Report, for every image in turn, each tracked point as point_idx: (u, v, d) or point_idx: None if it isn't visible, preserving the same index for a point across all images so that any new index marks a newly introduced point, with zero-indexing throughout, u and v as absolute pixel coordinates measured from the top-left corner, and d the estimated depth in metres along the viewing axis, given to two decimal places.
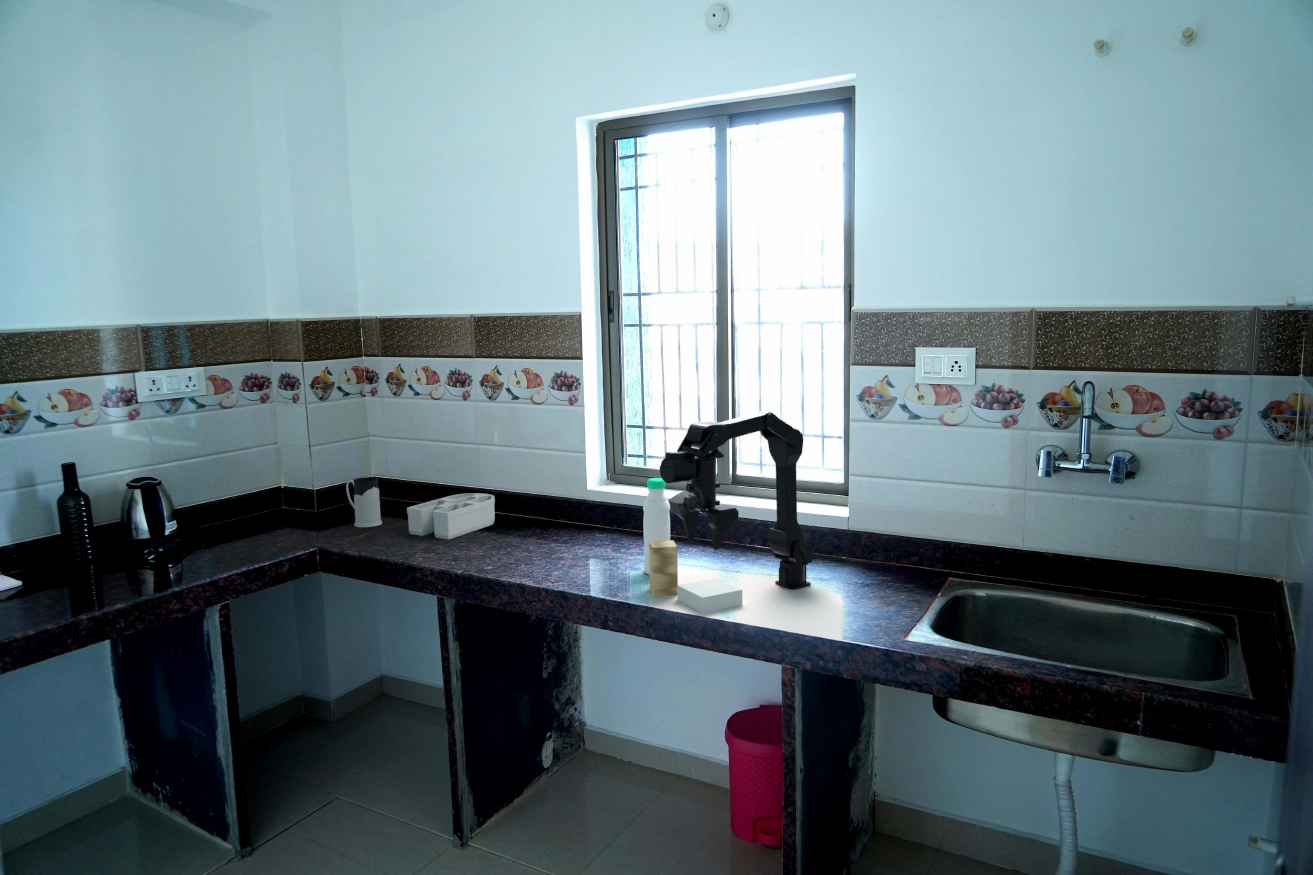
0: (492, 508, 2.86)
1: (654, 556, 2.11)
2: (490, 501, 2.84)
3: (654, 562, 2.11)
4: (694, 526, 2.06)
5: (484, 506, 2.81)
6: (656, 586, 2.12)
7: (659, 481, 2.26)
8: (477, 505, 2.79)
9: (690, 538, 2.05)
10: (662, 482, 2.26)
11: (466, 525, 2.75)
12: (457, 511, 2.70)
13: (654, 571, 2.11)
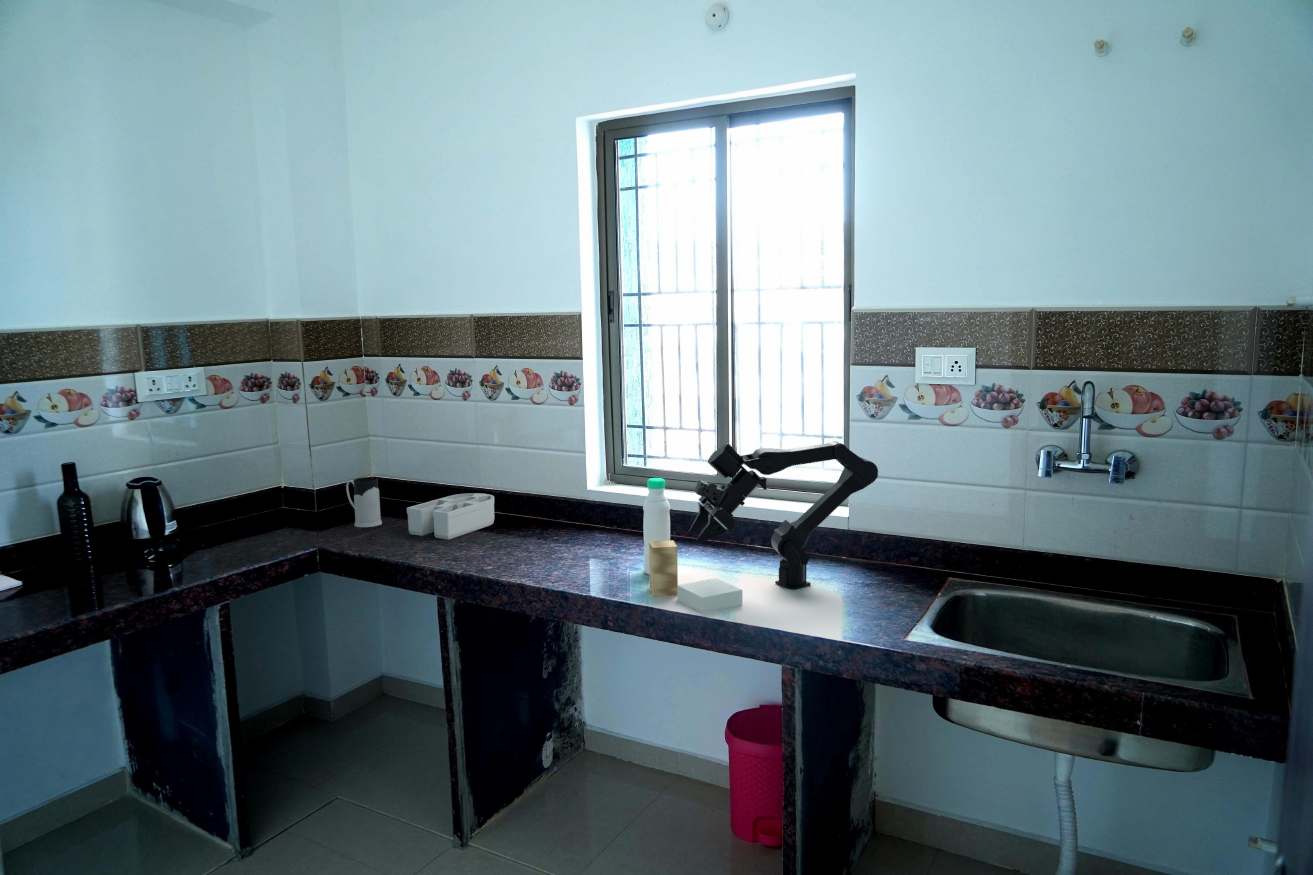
0: (492, 508, 2.86)
1: (654, 556, 2.11)
2: (490, 501, 2.84)
3: (654, 562, 2.11)
4: (702, 525, 2.19)
5: (483, 506, 2.81)
6: (656, 586, 2.12)
7: (659, 481, 2.26)
8: (477, 505, 2.79)
9: (691, 529, 2.19)
10: (662, 482, 2.26)
11: (466, 525, 2.75)
12: (457, 511, 2.70)
13: (654, 571, 2.11)
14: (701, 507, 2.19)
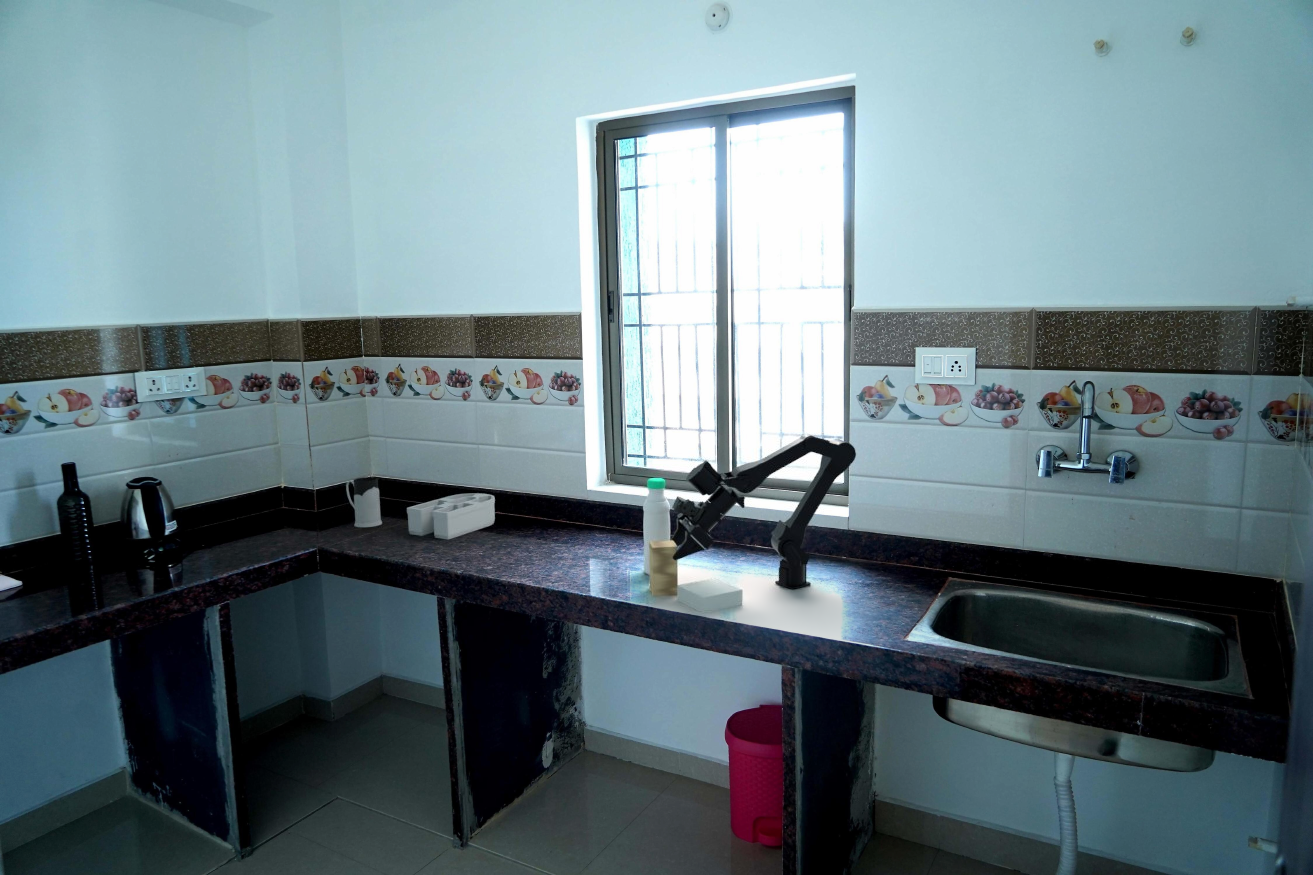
0: (492, 508, 2.86)
1: (654, 556, 2.11)
2: (490, 501, 2.84)
3: (654, 562, 2.11)
4: (679, 541, 2.19)
5: (484, 506, 2.81)
6: (656, 586, 2.12)
7: (659, 481, 2.26)
8: (477, 505, 2.78)
9: None
10: (662, 482, 2.26)
11: (466, 525, 2.75)
12: (457, 511, 2.70)
13: (654, 571, 2.11)
14: (679, 523, 2.19)
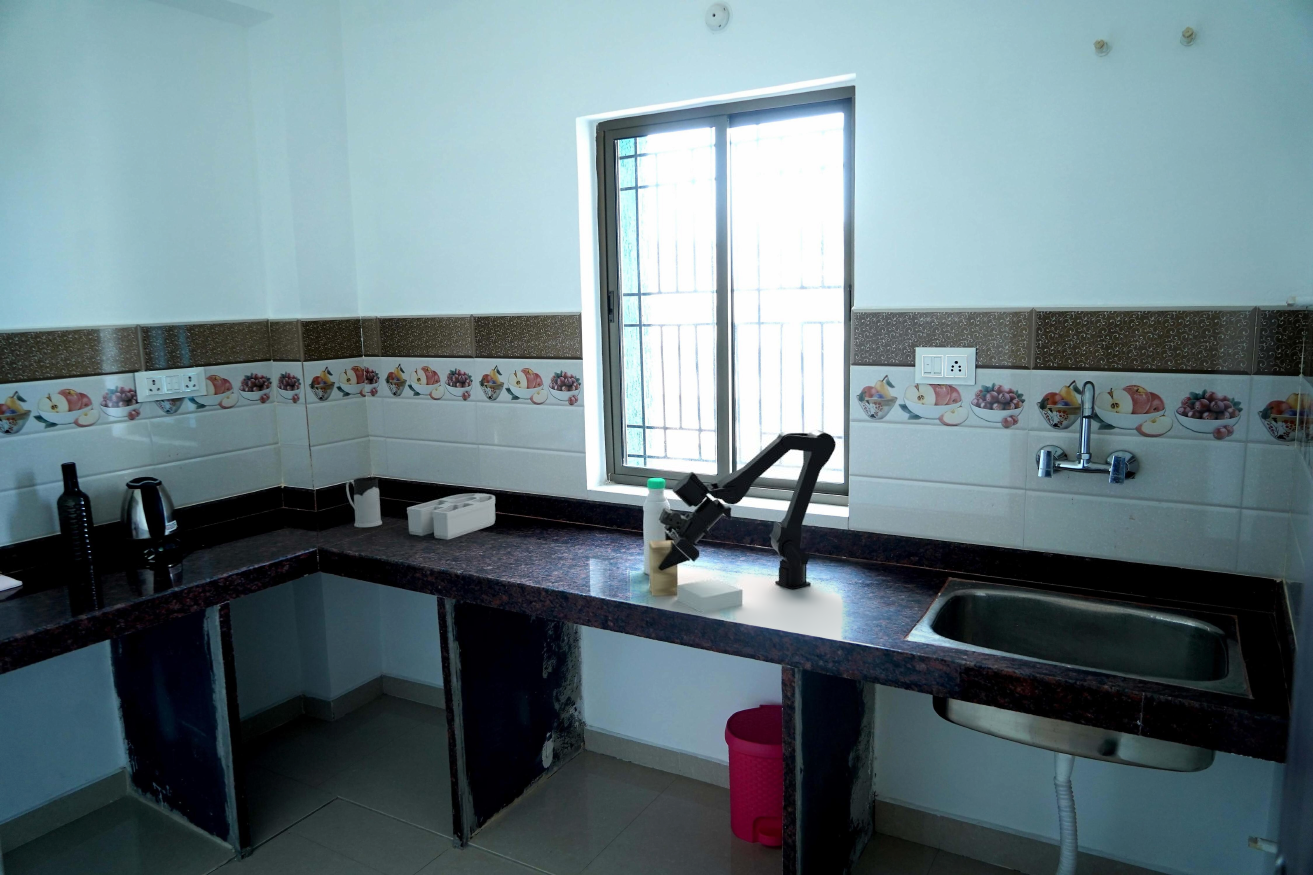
0: (493, 508, 2.86)
1: (654, 556, 2.11)
2: (490, 501, 2.84)
3: (654, 562, 2.11)
4: None
5: (484, 506, 2.81)
6: (656, 586, 2.12)
7: (659, 481, 2.26)
8: (477, 505, 2.78)
9: None
10: (662, 482, 2.26)
11: (466, 526, 2.75)
12: (457, 511, 2.70)
13: (654, 571, 2.11)
14: (667, 536, 2.17)
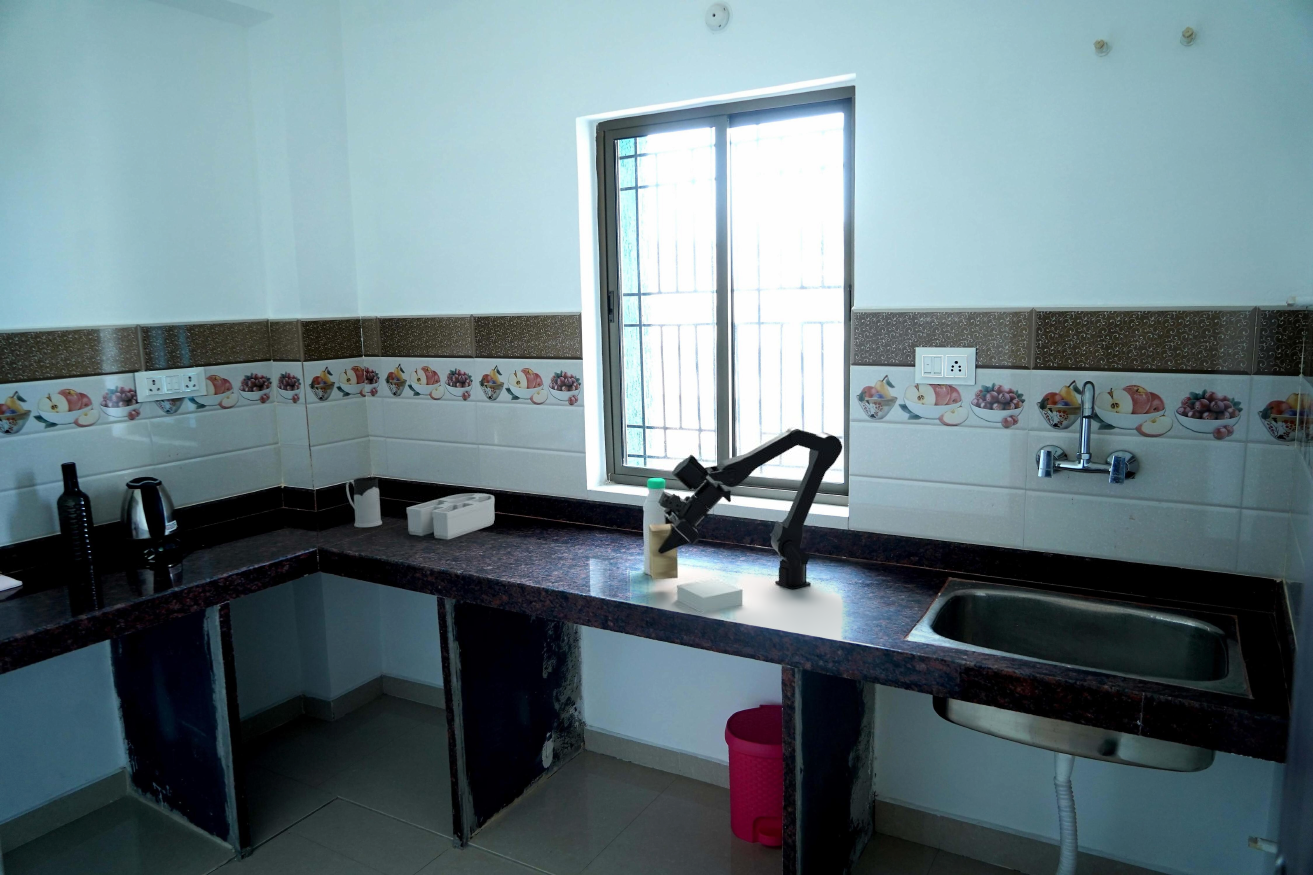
0: (492, 508, 2.86)
1: (654, 539, 2.10)
2: (490, 501, 2.84)
3: (654, 545, 2.10)
4: None
5: (483, 506, 2.81)
6: (656, 569, 2.11)
7: (659, 481, 2.26)
8: (477, 505, 2.78)
9: None
10: (662, 482, 2.26)
11: (466, 525, 2.75)
12: (456, 511, 2.70)
13: (654, 554, 2.11)
14: (667, 520, 2.17)
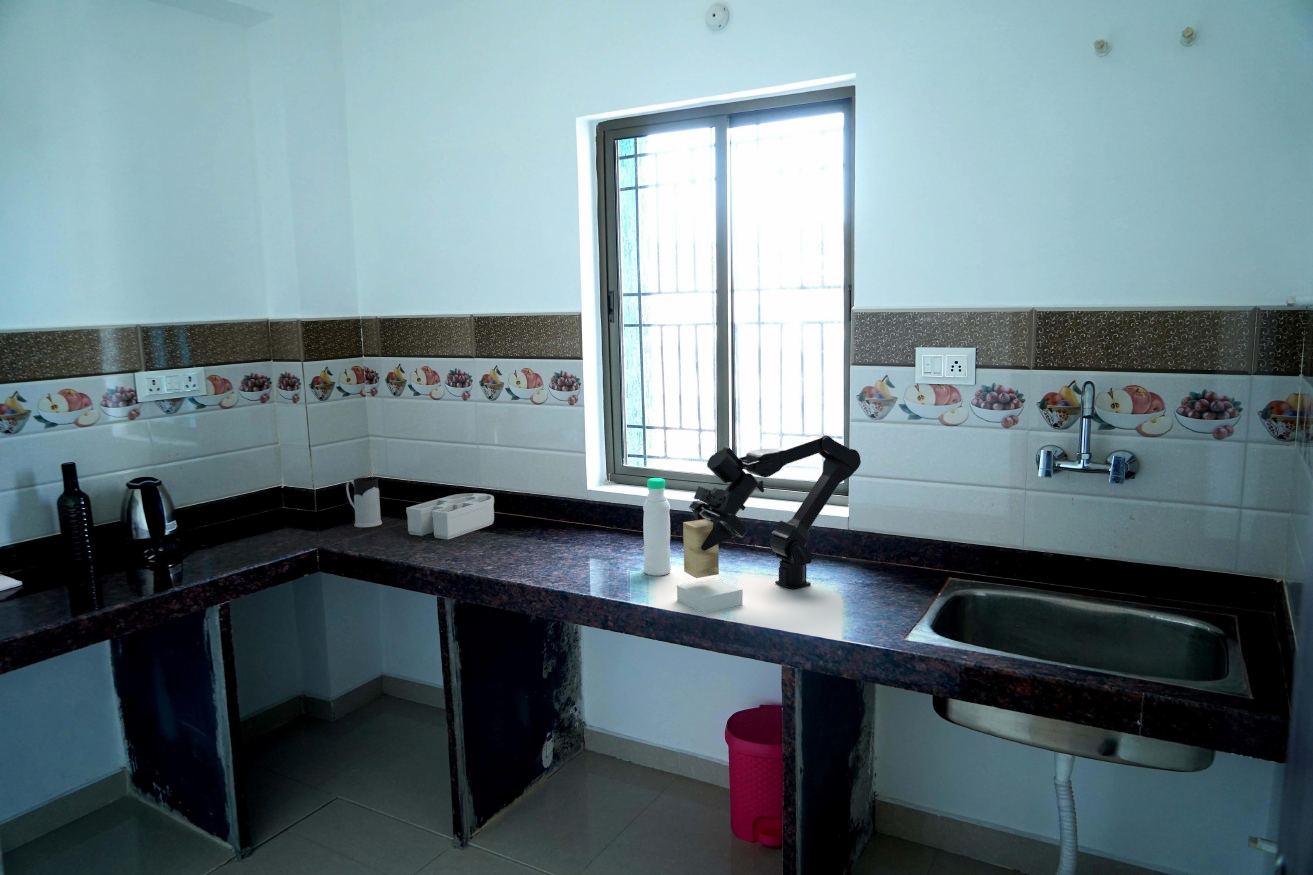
0: (492, 508, 2.86)
1: (697, 536, 2.02)
2: (489, 501, 2.84)
3: (697, 542, 2.02)
4: None
5: (483, 506, 2.81)
6: (699, 567, 2.03)
7: (659, 481, 2.26)
8: (476, 505, 2.78)
9: None
10: (662, 482, 2.26)
11: (466, 525, 2.75)
12: (456, 511, 2.70)
13: (697, 552, 2.03)
14: (699, 516, 2.09)
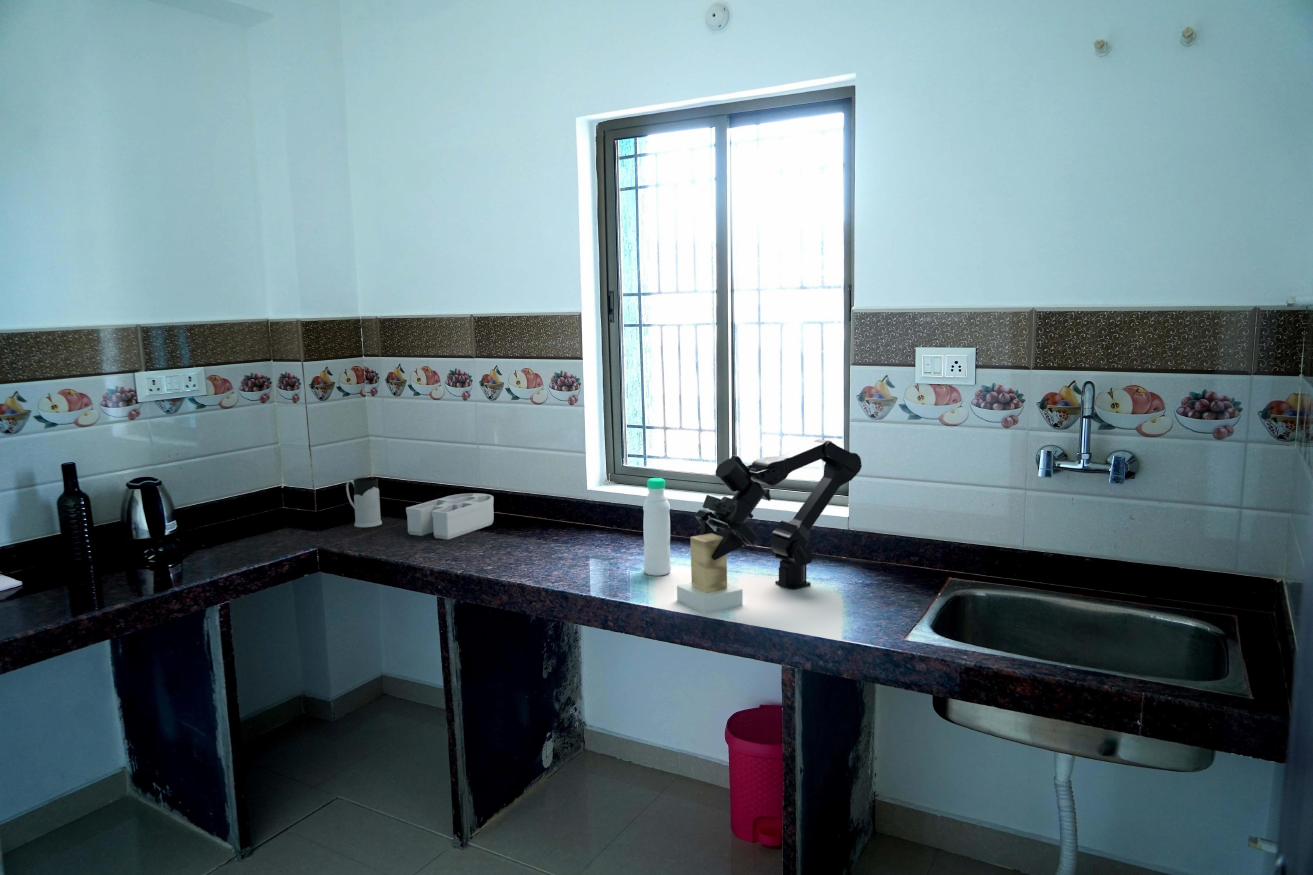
0: (491, 508, 2.86)
1: (706, 551, 2.01)
2: (489, 501, 2.84)
3: (706, 557, 2.02)
4: None
5: (483, 506, 2.81)
6: (708, 582, 2.03)
7: (659, 481, 2.26)
8: (476, 505, 2.78)
9: None
10: (662, 482, 2.26)
11: (466, 525, 2.75)
12: (456, 511, 2.70)
13: (706, 566, 2.02)
14: (706, 524, 2.09)
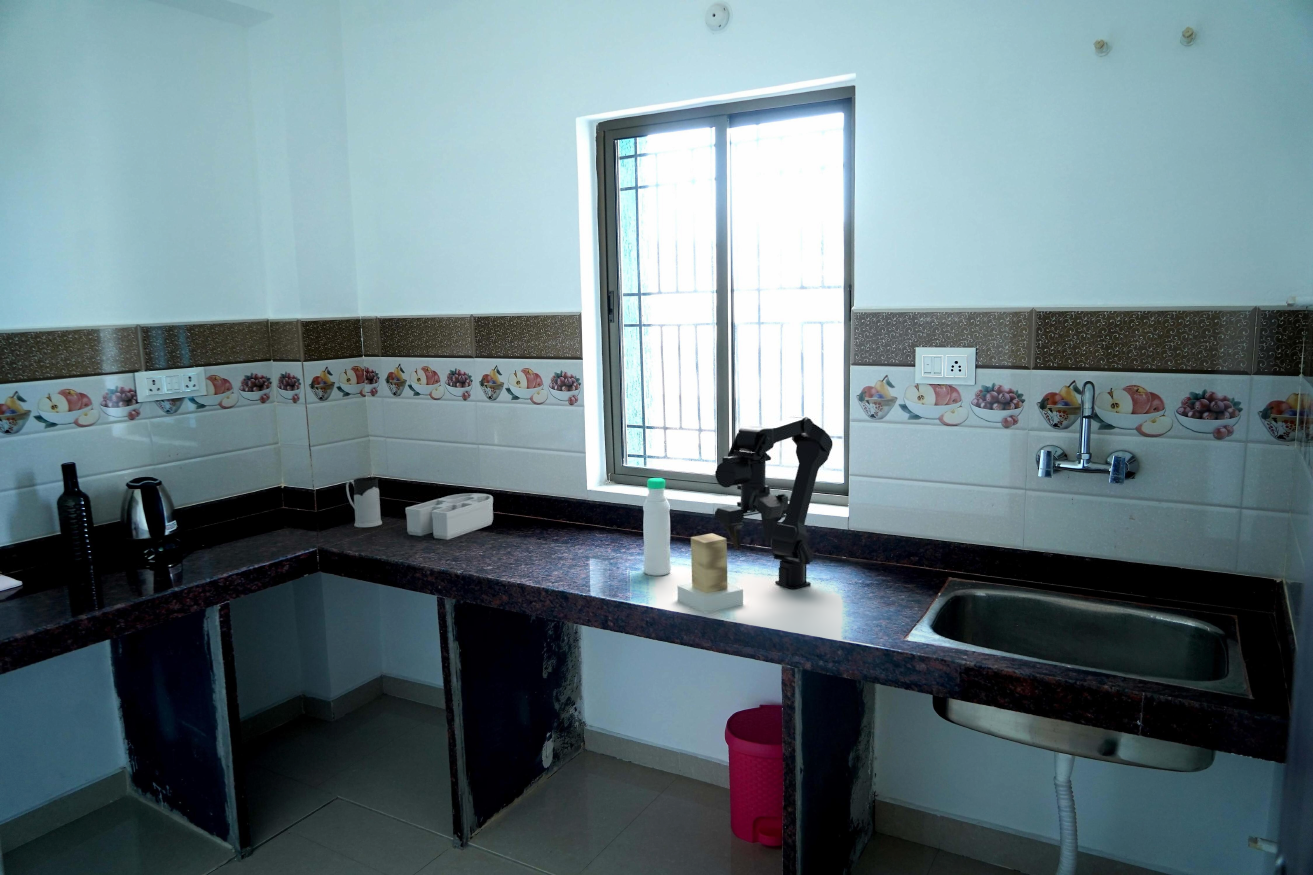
0: (491, 508, 2.86)
1: (706, 551, 2.01)
2: (488, 501, 2.84)
3: (706, 558, 2.01)
4: None
5: (482, 506, 2.81)
6: (709, 582, 2.02)
7: (659, 481, 2.26)
8: (476, 505, 2.78)
9: None
10: (662, 482, 2.26)
11: (465, 525, 2.75)
12: (456, 511, 2.70)
13: (706, 567, 2.02)
14: None
